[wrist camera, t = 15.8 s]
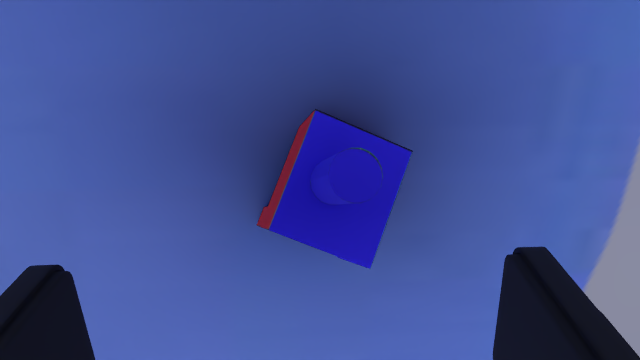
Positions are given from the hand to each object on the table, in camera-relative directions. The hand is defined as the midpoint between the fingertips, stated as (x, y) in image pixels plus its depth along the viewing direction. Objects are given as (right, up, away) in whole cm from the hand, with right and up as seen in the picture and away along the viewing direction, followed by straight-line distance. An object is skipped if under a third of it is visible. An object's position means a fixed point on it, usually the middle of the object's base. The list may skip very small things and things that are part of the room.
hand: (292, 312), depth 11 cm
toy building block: (+1, +3, +10) cm, 10 cm away
